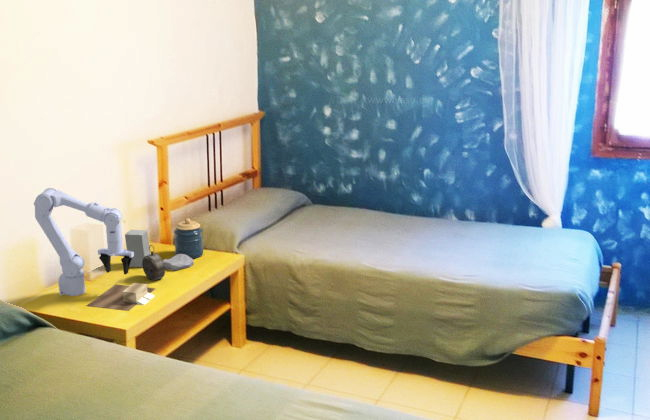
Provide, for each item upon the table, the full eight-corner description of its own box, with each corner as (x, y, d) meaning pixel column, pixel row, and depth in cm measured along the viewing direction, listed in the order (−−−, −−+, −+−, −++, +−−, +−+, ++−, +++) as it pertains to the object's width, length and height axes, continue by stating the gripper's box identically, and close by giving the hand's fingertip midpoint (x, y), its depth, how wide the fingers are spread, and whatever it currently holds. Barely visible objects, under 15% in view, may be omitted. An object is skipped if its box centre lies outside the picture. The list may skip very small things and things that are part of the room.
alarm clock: (166, 283, 289) (164, 246, 284) (155, 286, 285) (153, 249, 281) (151, 276, 296) (149, 240, 292) (140, 279, 292) (138, 243, 288)
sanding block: (123, 302, 266) (122, 291, 265) (134, 293, 275) (133, 282, 274) (136, 303, 265) (135, 293, 264) (147, 294, 274) (146, 284, 272)
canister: (193, 248, 331) (192, 212, 326) (209, 255, 322) (207, 218, 317) (169, 254, 323) (167, 218, 318) (184, 261, 313) (182, 224, 308)
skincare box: (151, 263, 312) (149, 229, 307) (144, 268, 305) (142, 234, 300) (134, 261, 313) (131, 228, 309) (126, 267, 306) (124, 233, 302)
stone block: (196, 268, 311) (181, 259, 316) (196, 259, 309) (181, 250, 314) (175, 277, 302) (160, 268, 307) (176, 267, 300) (161, 258, 305)
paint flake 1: (136, 303, 265) (137, 301, 265) (141, 299, 269) (142, 297, 269) (145, 308, 265) (146, 305, 264) (150, 304, 269) (151, 301, 268)
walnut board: (85, 309, 263) (85, 305, 263) (115, 287, 284) (115, 284, 284) (129, 314, 260) (128, 310, 259) (155, 292, 280) (155, 288, 280)
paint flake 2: (142, 298, 270) (143, 296, 269) (147, 294, 274) (148, 292, 273) (151, 303, 269) (152, 300, 269) (156, 299, 273) (157, 296, 273)
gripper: (92, 241, 269) (95, 274, 273) (126, 245, 265) (129, 278, 269) (102, 236, 275) (104, 268, 279) (135, 239, 272) (137, 271, 276)
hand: (117, 272), depth 275 cm, fingers open, 7 cm apart
